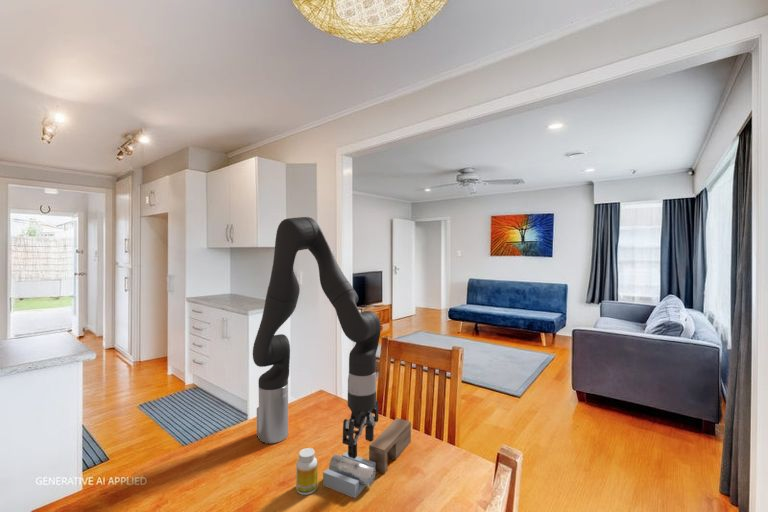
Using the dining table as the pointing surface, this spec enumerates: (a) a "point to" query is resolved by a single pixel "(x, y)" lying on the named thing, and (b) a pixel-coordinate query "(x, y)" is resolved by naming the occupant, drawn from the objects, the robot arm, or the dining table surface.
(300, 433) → the dining table surface
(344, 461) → the axle
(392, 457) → the beam
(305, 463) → the supplement bottle
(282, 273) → the robot arm
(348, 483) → the cradle
